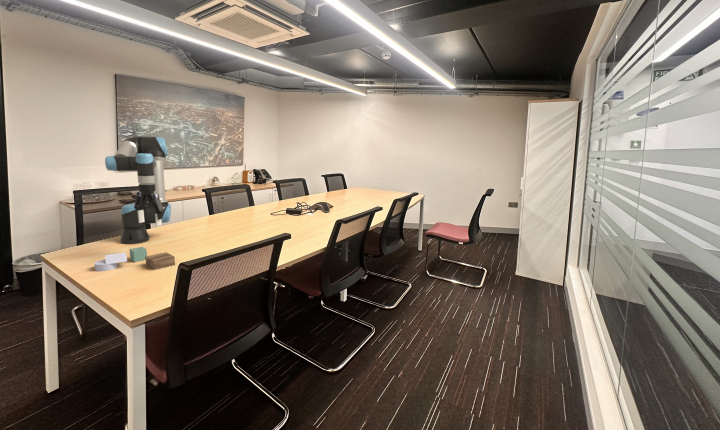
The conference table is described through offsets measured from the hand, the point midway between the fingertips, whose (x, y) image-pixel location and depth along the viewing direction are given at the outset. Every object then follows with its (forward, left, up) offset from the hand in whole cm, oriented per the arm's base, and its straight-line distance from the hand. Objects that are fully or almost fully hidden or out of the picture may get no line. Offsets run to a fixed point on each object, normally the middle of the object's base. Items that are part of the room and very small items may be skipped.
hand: (150, 223), depth 187 cm
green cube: (-2, -6, -19) cm, 20 cm away
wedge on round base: (+1, -19, -19) cm, 27 cm away
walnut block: (+14, -2, -19) cm, 24 cm away
